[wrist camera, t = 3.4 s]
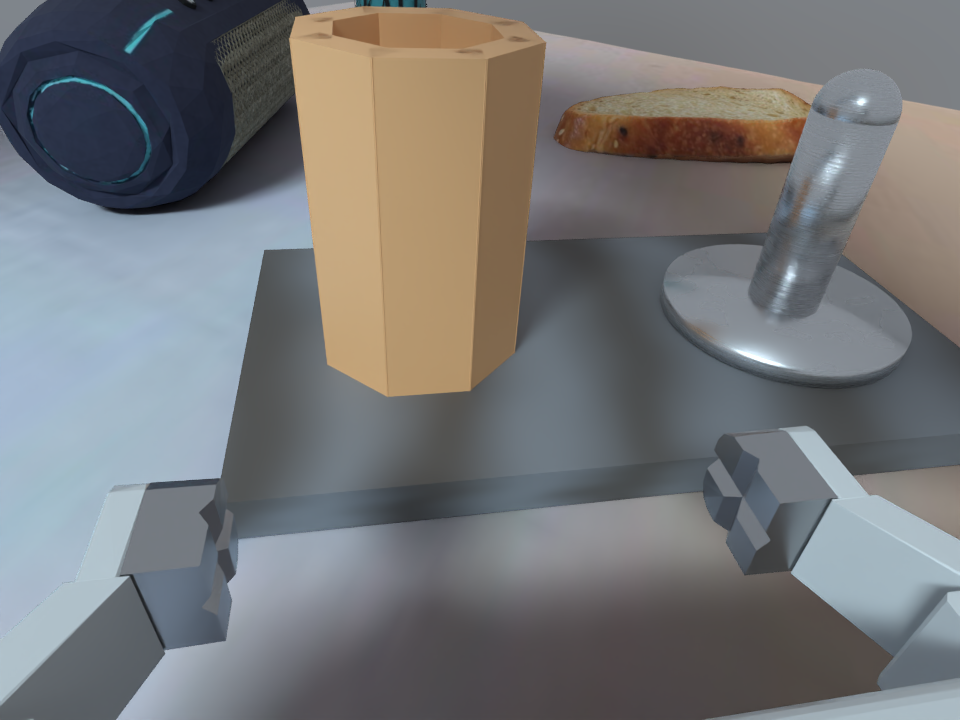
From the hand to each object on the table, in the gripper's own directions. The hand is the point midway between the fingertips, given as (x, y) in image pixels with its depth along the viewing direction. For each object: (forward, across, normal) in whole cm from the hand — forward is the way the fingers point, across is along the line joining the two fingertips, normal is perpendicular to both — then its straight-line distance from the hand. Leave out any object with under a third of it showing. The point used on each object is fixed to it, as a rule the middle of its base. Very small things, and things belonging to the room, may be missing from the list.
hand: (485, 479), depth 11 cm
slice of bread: (+36, -23, +8) cm, 44 cm away
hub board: (+12, -7, +7) cm, 16 cm away
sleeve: (+12, 0, +6) cm, 13 cm away
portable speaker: (+36, +11, +7) cm, 39 cm away
